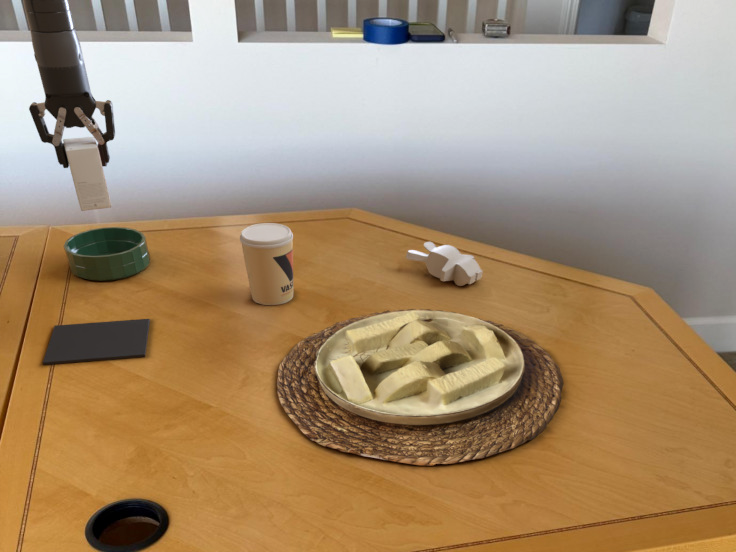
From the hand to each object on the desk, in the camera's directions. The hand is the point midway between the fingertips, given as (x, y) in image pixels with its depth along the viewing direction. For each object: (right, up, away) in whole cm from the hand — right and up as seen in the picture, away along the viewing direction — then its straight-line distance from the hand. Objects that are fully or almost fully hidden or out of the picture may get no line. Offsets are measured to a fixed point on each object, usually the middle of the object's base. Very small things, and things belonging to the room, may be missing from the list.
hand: (85, 165), depth 141 cm
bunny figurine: (+67, -17, +11) cm, 70 cm away
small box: (0, -5, +5) cm, 7 cm away
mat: (+7, -35, -11) cm, 37 cm away
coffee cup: (+34, -23, +3) cm, 41 cm away
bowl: (0, -14, +13) cm, 19 cm away
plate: (+61, -43, -19) cm, 77 cm away
